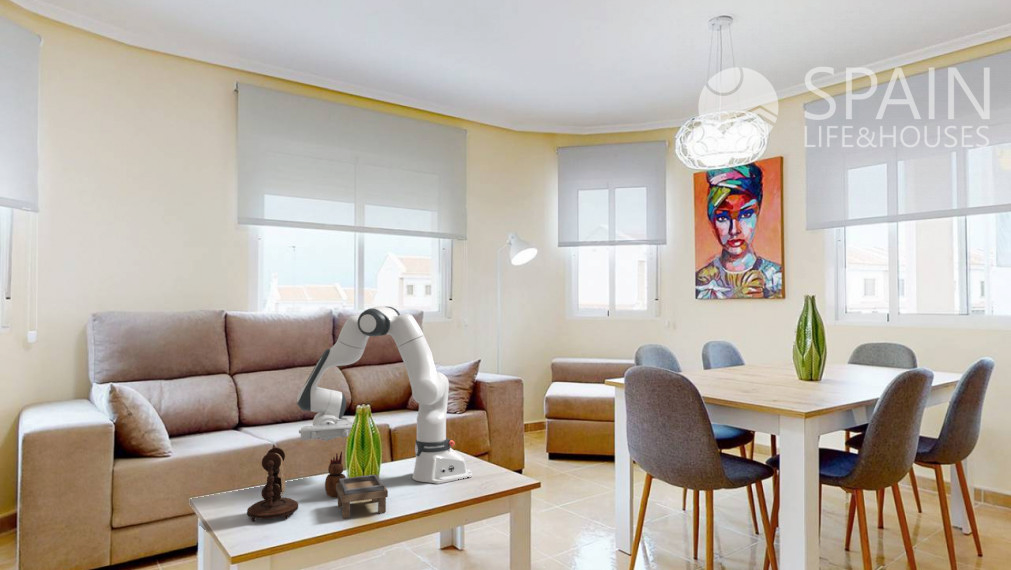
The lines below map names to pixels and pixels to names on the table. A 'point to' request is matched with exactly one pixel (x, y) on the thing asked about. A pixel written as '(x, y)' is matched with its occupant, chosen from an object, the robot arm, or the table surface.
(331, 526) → the table surface
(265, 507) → the dark brown tall figurine
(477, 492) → the table surface
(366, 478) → the stool
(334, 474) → the wooden figurine
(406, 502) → the table surface
